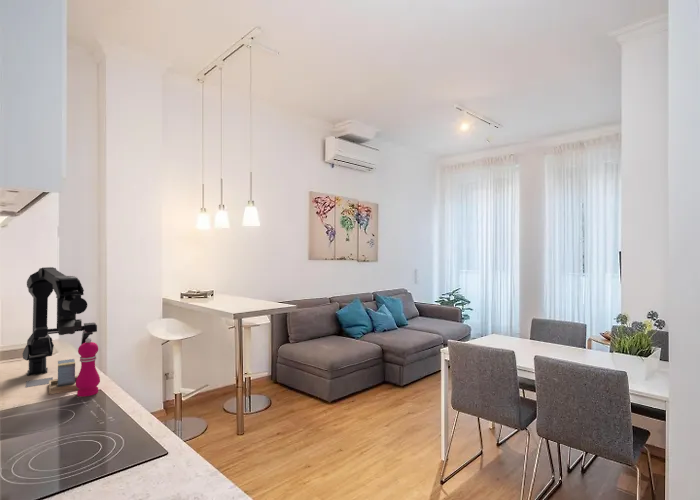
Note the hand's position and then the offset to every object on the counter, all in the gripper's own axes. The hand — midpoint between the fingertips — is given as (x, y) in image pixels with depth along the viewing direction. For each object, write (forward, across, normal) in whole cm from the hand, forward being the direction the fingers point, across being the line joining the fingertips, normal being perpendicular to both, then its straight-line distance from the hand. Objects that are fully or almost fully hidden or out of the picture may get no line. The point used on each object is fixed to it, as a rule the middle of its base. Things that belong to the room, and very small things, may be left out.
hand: (66, 353), depth 145 cm
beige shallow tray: (+13, 0, 0) cm, 13 cm away
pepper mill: (+13, +6, -12) cm, 19 cm away
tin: (+12, 0, 0) cm, 12 cm away
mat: (+13, -8, +11) cm, 19 cm away
